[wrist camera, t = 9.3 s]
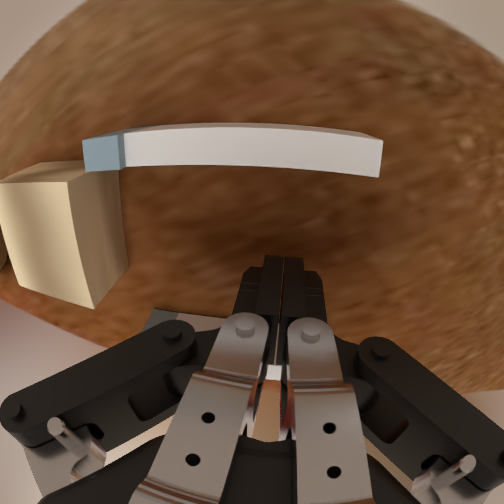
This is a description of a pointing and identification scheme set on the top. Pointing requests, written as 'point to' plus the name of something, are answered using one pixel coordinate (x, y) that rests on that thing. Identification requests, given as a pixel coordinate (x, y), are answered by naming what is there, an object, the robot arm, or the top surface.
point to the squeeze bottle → (2, 250)
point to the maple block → (64, 230)
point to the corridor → (233, 163)
